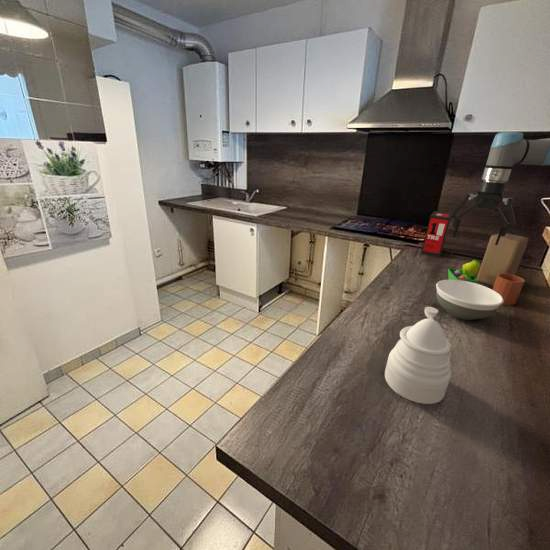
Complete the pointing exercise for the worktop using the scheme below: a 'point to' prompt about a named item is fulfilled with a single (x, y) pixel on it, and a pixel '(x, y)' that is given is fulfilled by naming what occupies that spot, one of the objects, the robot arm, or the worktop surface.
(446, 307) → the bowl
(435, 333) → the honey pot
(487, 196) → the robot arm
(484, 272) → the wooden block
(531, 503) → the worktop surface
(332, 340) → the worktop surface
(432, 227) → the cleaning product box
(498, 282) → the terracotta plant pot
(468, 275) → the fruit basket
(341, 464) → the worktop surface
